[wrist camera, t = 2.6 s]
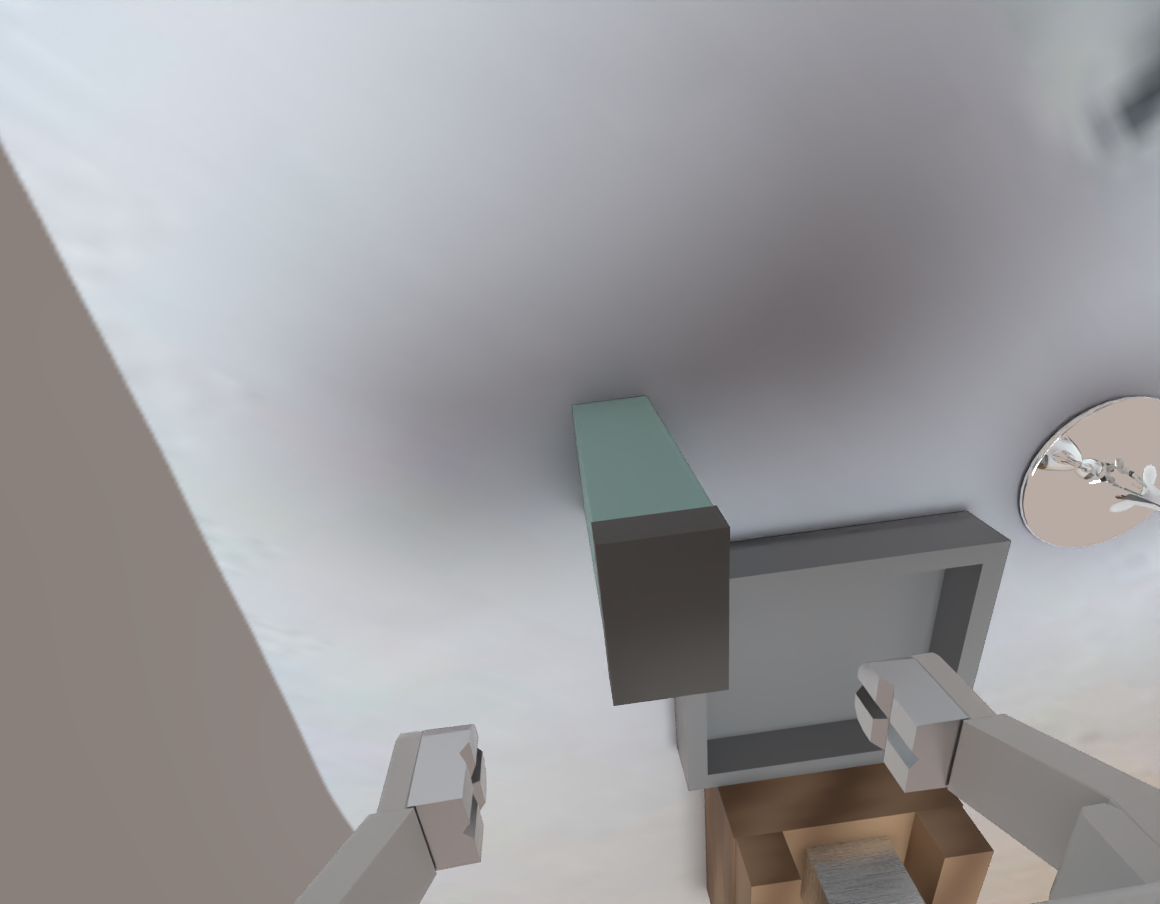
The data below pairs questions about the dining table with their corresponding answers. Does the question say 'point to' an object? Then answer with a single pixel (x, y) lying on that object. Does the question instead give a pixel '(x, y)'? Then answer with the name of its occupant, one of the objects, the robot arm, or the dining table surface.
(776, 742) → the tray
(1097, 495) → the wineglass
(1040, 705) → the dining table surface
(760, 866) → the groove board
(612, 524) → the green grey block
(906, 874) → the steel block
